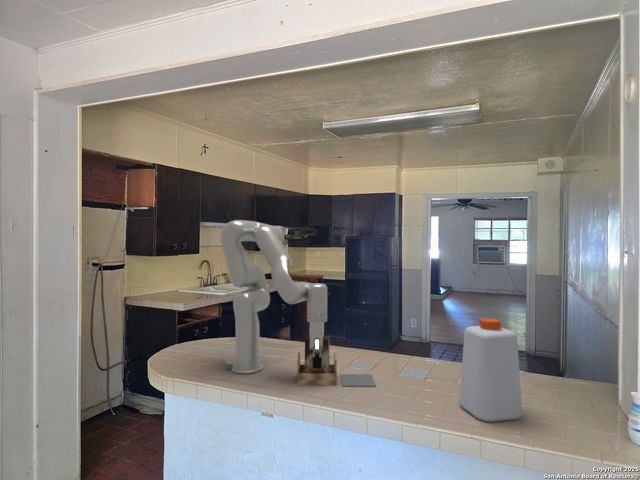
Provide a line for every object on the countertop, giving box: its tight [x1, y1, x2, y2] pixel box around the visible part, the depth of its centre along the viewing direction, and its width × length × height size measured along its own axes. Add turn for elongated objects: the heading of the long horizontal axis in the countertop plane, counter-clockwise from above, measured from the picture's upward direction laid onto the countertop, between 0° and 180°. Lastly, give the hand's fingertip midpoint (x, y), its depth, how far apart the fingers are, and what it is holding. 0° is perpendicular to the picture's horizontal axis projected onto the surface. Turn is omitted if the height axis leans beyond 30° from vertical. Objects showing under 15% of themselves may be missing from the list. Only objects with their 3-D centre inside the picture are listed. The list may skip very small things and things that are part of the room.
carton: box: [296, 351, 338, 386], centre depth 150 cm, size 14×11×9 cm
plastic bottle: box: [458, 317, 523, 423], centre depth 123 cm, size 15×15×28 cm
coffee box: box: [304, 334, 331, 374], centre depth 150 cm, size 9×6×16 cm
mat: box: [339, 373, 377, 388], centre depth 149 cm, size 12×12×1 cm
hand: (317, 364), depth 150 cm, fingers closed on coffee box, 6 cm apart
